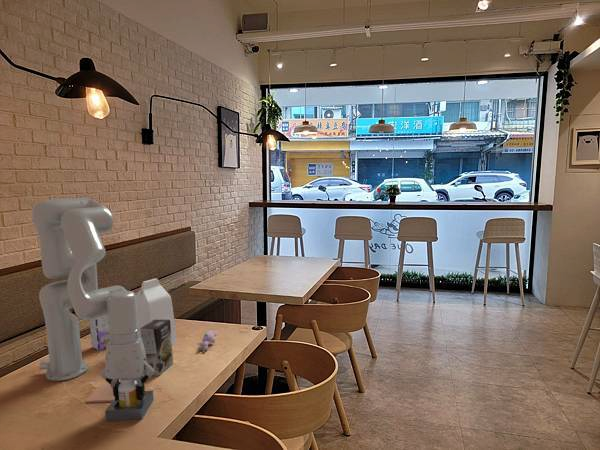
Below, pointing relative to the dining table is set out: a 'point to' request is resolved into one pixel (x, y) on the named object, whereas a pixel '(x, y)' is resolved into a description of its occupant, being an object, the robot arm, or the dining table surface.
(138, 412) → the sleeve
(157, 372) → the coffee box
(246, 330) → the dining table surface
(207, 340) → the rabbit figure
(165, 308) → the milk
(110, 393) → the pad
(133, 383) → the supplement bottle
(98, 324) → the candy box
